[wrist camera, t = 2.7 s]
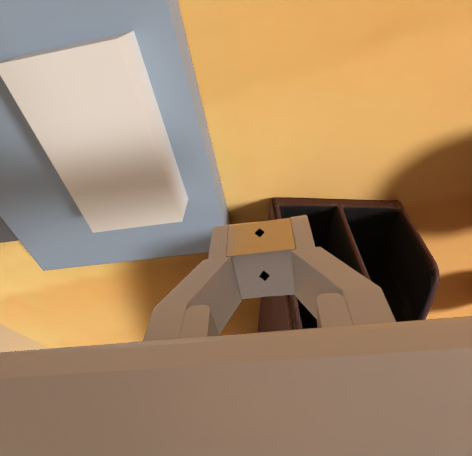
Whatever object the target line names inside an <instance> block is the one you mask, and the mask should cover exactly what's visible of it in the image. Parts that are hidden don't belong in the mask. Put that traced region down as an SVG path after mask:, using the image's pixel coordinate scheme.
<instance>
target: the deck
mask: <svg viewBox="0 0 472 456" xmlns="http://www.w3.org/2000/svg"><path fill="white" fill-rule="evenodd" d="M130 31H134V33H135V36H136V39H137V42H138V46H139V49H140V52H141V55H142V58H143V61H144V64H145V67H146V70H147V73H148V76H149V80H150V83H151V86H152V89H153V92H154V95H155V98H156V101H157V104H158V107H159V110H160V114H161V117H162V120H163V123H164V126H165V129H166V132H167V135H168V138H169V141H170V144H171V148H172V151H173V154H174V157H175V160H176V163H177V166H178V169H179V172H180V175H181V179H182V182H183V185H184V188H185V191H186V194H187V197H188V202H187V206H186V209H185V213H184V217H183V221H182V222H175V223H167V224H159V225H151V226H143V227H135V228H127V229H119V230H111V231H103V232H96V233H93V232H92V230H91V228H90V227H89V225H88V223H87V222H86V220H85V218H84V217H83V215H82V213H81V212H80V210H79V208H78V206H77V205H76V203H75V201H74V200H73V198H72V196H71V195H70V193H69V191H68V189H67V188H66V186H65V184H64V183H63V181H62V179H61V178H60V176H59V174H58V172H57V171H56V169H55V167H54V166H53V164H52V162H51V161H50V159H49V157H48V155H47V154H46V152H45V150H44V149H43V147H42V145H41V144H40V142H39V140H38V138H37V137H36V135H35V133H34V132H33V130H32V128H31V127H30V125H29V123H28V121H27V120H26V118H25V116H24V115H23V113H22V111H21V110H20V108H19V106H18V104H17V103H16V101H15V99H14V98H13V96H12V94H11V93H10V91H9V89H8V87H7V86H6V84H5V82H4V81H3V79H2V77H1V76H0V216H1V218H2V219H3V220H4V222H5V223H6V224H7V225H8V227H9V228H10V229H11V230H12V232H13V233H14V234H15V236H16V237H17V238H18V239H19V241H20V242H21V243H22V244H23V246H24V247H25V248H26V249H27V251H28V252H29V253H30V255H31V256H32V257H33V258H34V260H35V261H36V262H37V263H38V265H39V266H40V267H41V268H42V270H43V271H45V270H54V269H63V268H72V267H81V266H90V265H99V264H108V263H117V262H126V261H135V260H144V259H153V258H162V257H170V256H179V255H188V254H197V253H206V252H209V249H210V243H211V236H212V230H213V228H214V226H221V225H230V224H231V223H230V219H229V215H228V210H227V206H226V202H225V198H224V194H223V190H222V185H221V181H220V177H219V173H218V169H217V164H216V160H215V156H214V152H213V148H212V143H211V139H210V135H209V131H208V127H207V123H206V118H205V114H204V110H203V106H202V102H201V97H200V93H199V89H198V85H197V81H196V76H195V72H194V68H193V64H192V60H191V56H190V51H189V47H188V43H187V39H186V35H185V30H184V26H183V22H182V18H181V14H180V9H179V5H178V1H177V0H0V63H1V62H4V61H6V60H9V59H12V58H15V57H18V56H21V55H24V54H28V53H32V52H37V51H41V50H46V49H51V48H55V47H60V46H65V45H69V44H74V43H79V42H83V41H88V40H93V39H97V38H102V37H107V36H111V35H116V34H121V33H125V32H130Z"/></svg>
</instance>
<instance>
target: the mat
mask: <svg viewBox="0 0 472 456" xmlns="http://www.w3.org/2000/svg"><path fill="white" fill-rule="evenodd" d="M17 240H19V239H18V238H17V237H16V236H15V234H14V233H13V232H12V230H11V229H10V228H9V227H8V225H7V224H6V223H5V222H4V220H3V219H2V218H1V216H0V243H1V242H9V241H17Z"/></svg>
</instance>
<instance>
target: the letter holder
mask: <svg viewBox="0 0 472 456" xmlns="http://www.w3.org/2000/svg"><path fill="white" fill-rule="evenodd" d="M302 215H306V216H307V217H308V221H309V225H310V229H311V232H312V236H313V240H314V244H315V247H321V248H323V249H324V250H326V251H327V252H329V253H330V254H332V255H333V256H335V257H336V258H338V259H339V260H341V261H342V262H344V263H345V264H346V265H348V266H349V267H351V268H352V269H354V270H355V271H357V272H358V273H360V274H361V275H363V276H364V277H366V278H367V279H369V280H370V281H372V282H373V283H375V284H376V285H378V286H379V287H381V289H382V291H383V293H384V296H385V298H386V300H387V302H388V305H389V307H390V309H391V311H392V314H393V316H394V318H395V320H396V322H403V321H415V320H425V319H426V317H427V314H428V312H429V310H430V307H431V305H432V303H433V300H434V298H435V295H436V291H437V288H438V284H439V269H438V266H437V263H436V262H435V260H434V258H433V256H432V255H431V253H430V251H429V250H428V248H427V246H426V245H425V243H424V241H423V240H422V238H421V236H420V235H419V233H418V231H417V230H416V228H415V226H414V225H413V223H412V222H411V220H410V218H409V217H408V215H407V213H406V212H405V210H404V208H403V206H402V204H401V203H400V202H399V201H372V200H338V199H308V198H273V199H271V201H270V207H269V220H277V219H284V218H290V217H295V216H302ZM310 328H317V319H316V318H315V317H314V316H313V315H312V314H311V313H310V312H309V310H308V309H307V308H306V307H305V306H304V305H303V304H302V303H301V302H300V300H299V299H298V298H297V297H296V296H295V295H282V296H267V297H261V304H260V315H259V325H258V333H259V332H271V331H284V330H297V329H310Z"/></svg>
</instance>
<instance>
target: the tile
mask: <svg viewBox="0 0 472 456" xmlns="http://www.w3.org/2000/svg"><path fill="white" fill-rule="evenodd" d="M0 76H1V77H2V79H3V81H4V82H5V84H6V86H7V87H8V89H9V91H10V93H11V94H12V96H13V98H14V99H15V101H16V103H17V104H18V106H19V108H20V110H21V111H22V113H23V115H24V116H25V118H26V120H27V121H28V123H29V125H30V127H31V128H32V130H33V132H34V133H35V135H36V137H37V138H38V140H39V142H40V144H41V145H42V147H43V149H44V150H45V152H46V154H47V155H48V157H49V159H50V161H51V162H52V164H53V166H54V167H55V169H56V171H57V172H58V174H59V176H60V178H61V179H62V181H63V183H64V184H65V186H66V188H67V189H68V191H69V193H70V195H71V196H72V198H73V200H74V201H75V203H76V205H77V206H78V208H79V210H80V212H81V213H82V215H83V217H84V218H85V220H86V222H87V223H88V225H89V227H90V228H91V230H92V232H93V233H96V232H103V231H111V230H119V229H127V228H135V227H143V226H151V225H159V224H167V223H175V222H182V221H183V217H184V213H185V209H186V206H187V202H188V197H187V194H186V191H185V188H184V185H183V182H182V179H181V175H180V172H179V169H178V166H177V163H176V160H175V157H174V154H173V151H172V148H171V144H170V141H169V138H168V135H167V132H166V129H165V126H164V123H163V120H162V117H161V114H160V110H159V107H158V104H157V101H156V98H155V95H154V92H153V89H152V86H151V83H150V80H149V76H148V73H147V70H146V67H145V64H144V61H143V58H142V55H141V52H140V49H139V46H138V42H137V39H136V36H135V33H134V31H130V32H125V33H121V34H116V35H111V36H107V37H102V38H97V39H93V40H88V41H83V42H79V43H74V44H69V45H65V46H60V47H55V48H51V49H46V50H41V51H37V52H32V53H28V54H24V55H21V56H18V57H15V58H12V59H9V60H6V61H4V62H1V63H0Z"/></svg>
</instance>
